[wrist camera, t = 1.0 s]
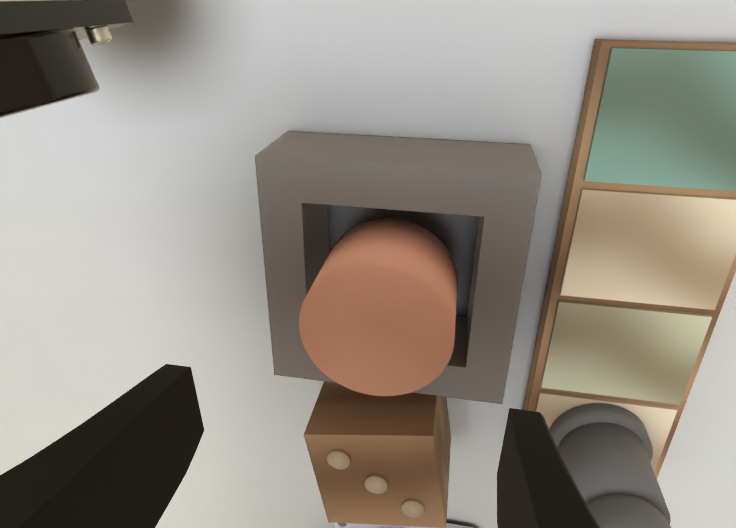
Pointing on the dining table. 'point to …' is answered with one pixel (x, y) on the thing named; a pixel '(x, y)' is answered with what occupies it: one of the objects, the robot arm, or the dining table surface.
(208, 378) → the dining table surface
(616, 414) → the pawn
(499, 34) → the dining table surface
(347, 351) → the plunger
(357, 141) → the frame
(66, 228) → the dining table surface
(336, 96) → the dining table surface
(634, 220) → the track board
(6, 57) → the pneumatic valve
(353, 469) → the die
